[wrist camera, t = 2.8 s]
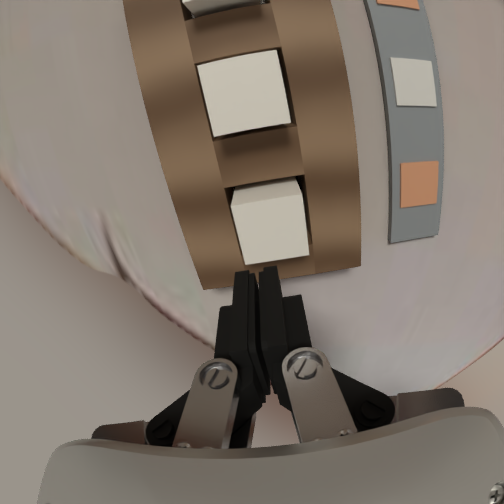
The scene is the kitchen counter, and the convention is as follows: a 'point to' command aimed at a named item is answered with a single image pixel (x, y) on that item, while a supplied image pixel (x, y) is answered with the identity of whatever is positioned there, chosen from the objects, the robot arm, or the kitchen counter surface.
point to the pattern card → (410, 116)
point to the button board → (254, 140)
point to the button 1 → (216, 5)
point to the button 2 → (270, 220)
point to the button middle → (244, 92)
